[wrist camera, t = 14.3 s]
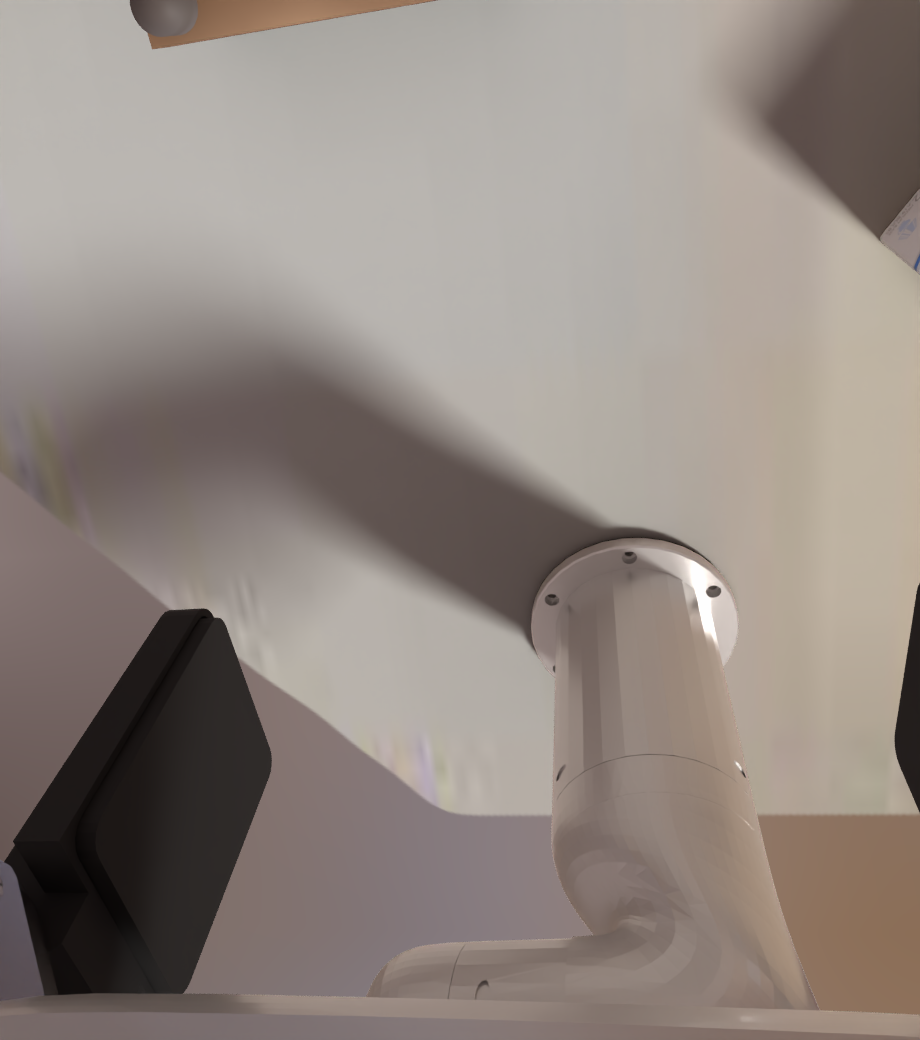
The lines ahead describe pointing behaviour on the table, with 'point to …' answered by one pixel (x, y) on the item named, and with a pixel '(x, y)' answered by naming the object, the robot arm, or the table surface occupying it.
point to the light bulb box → (906, 233)
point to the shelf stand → (239, 16)
